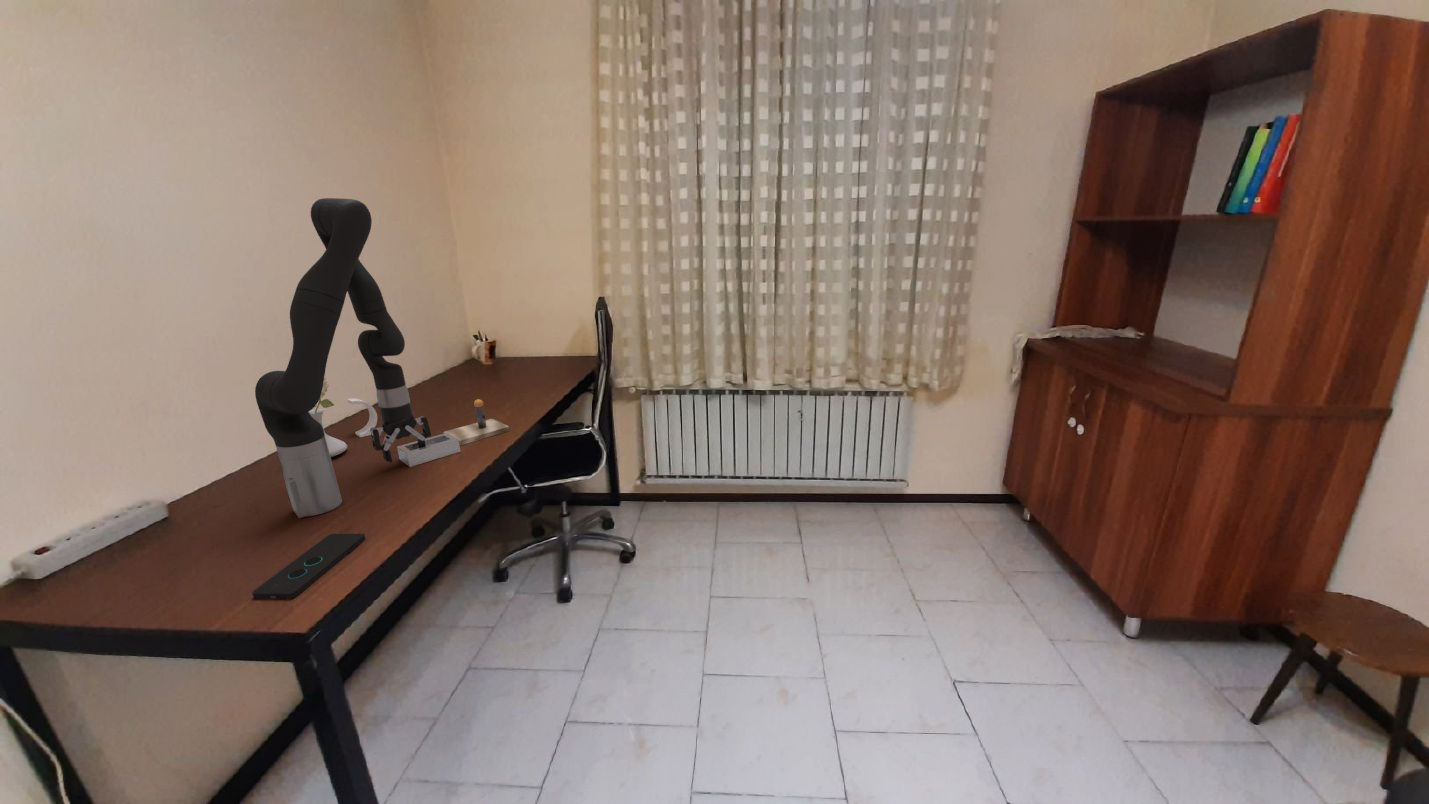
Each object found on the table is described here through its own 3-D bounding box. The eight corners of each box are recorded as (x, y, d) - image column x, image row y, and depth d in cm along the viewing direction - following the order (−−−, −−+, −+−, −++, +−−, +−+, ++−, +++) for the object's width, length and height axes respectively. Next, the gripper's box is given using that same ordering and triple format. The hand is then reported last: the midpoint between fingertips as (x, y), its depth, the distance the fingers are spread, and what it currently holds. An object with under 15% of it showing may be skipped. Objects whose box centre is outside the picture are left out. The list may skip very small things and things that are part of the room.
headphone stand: (355, 434, 179) (346, 399, 175) (376, 429, 183) (368, 394, 180) (360, 437, 176) (351, 401, 172) (381, 432, 180) (373, 397, 177)
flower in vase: (292, 462, 158) (267, 378, 151) (327, 447, 169) (306, 367, 161) (328, 465, 155) (306, 379, 148) (362, 449, 166) (342, 369, 158)
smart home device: (248, 592, 99) (329, 533, 118) (251, 600, 99) (331, 540, 118) (292, 593, 98) (366, 533, 117) (295, 601, 99) (368, 540, 118)
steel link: (409, 467, 153) (406, 453, 151) (399, 459, 158) (396, 446, 157) (460, 451, 162) (458, 439, 161) (449, 445, 168) (447, 432, 166)
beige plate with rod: (460, 445, 167) (453, 411, 164) (444, 436, 175) (437, 403, 171) (509, 430, 178) (504, 398, 175) (492, 422, 186) (487, 391, 182)
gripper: (369, 411, 143) (383, 469, 148) (427, 398, 153) (437, 452, 158) (360, 406, 148) (374, 461, 153) (416, 393, 158) (427, 446, 163)
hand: (406, 457), depth 155 cm, fingers open, 8 cm apart
